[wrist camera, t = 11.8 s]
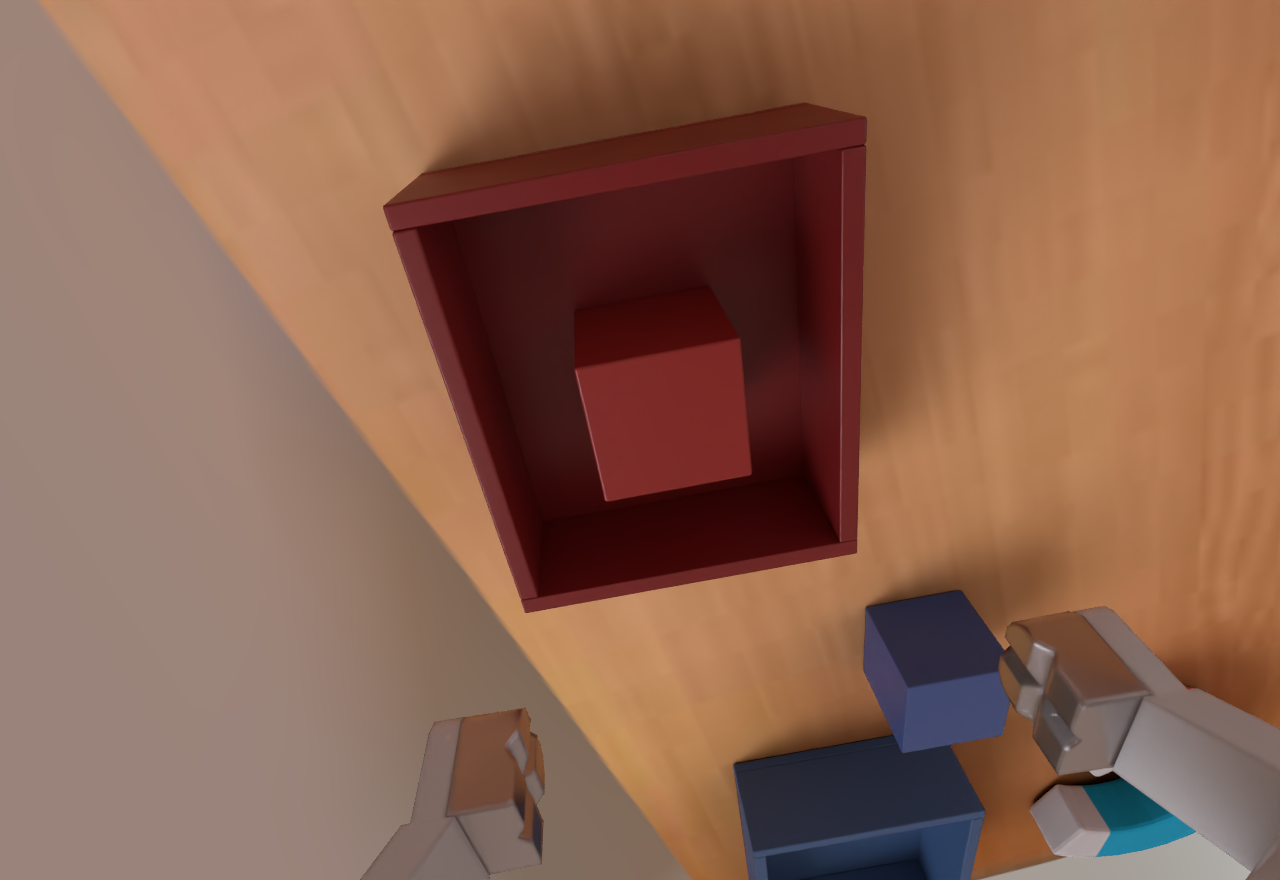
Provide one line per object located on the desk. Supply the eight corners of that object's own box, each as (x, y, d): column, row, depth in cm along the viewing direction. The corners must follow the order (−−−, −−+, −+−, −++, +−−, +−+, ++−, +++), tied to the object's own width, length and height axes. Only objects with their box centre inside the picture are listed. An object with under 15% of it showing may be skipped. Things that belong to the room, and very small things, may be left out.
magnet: (1234, 840, 37) (1052, 866, 38) (1196, 792, 39) (1026, 818, 40) (1293, 708, 31) (1076, 743, 32) (1245, 662, 33) (1044, 695, 34)
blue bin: (732, 763, 35) (752, 852, 31) (940, 726, 35) (986, 810, 31) (749, 883, 42) (767, 968, 38) (922, 852, 42) (958, 934, 38)
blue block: (865, 606, 29) (908, 688, 26) (961, 589, 29) (1018, 668, 26) (862, 670, 32) (902, 753, 28) (952, 654, 32) (1003, 735, 28)
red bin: (420, 173, 19) (381, 205, 15) (806, 102, 19) (868, 116, 15) (532, 528, 26) (525, 613, 22) (814, 477, 25) (857, 553, 22)
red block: (573, 310, 21) (573, 369, 17) (710, 284, 21) (741, 337, 17) (599, 428, 23) (605, 503, 19) (723, 405, 23) (753, 476, 19)
